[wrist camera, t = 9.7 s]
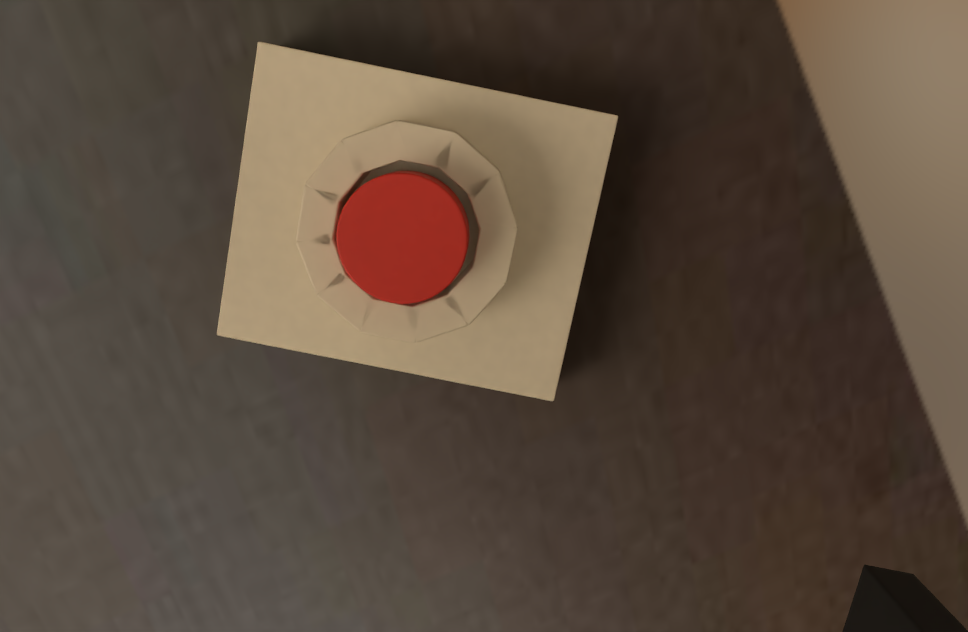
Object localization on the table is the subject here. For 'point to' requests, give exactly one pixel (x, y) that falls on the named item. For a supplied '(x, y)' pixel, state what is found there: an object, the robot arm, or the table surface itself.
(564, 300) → the control block
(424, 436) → the table surface
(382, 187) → the button
